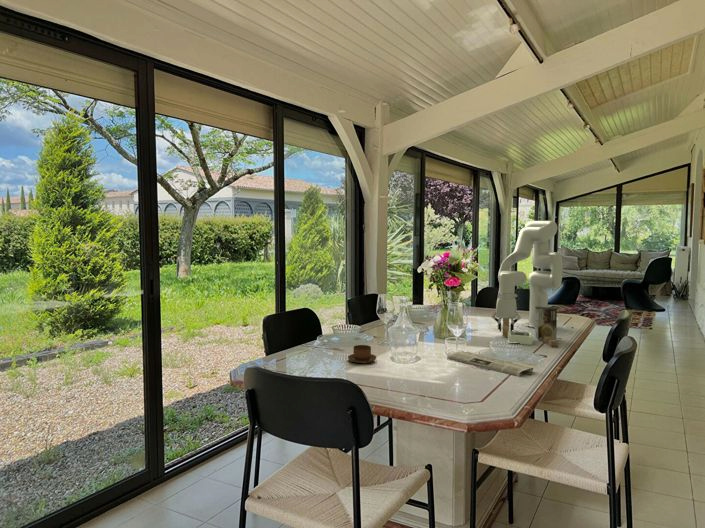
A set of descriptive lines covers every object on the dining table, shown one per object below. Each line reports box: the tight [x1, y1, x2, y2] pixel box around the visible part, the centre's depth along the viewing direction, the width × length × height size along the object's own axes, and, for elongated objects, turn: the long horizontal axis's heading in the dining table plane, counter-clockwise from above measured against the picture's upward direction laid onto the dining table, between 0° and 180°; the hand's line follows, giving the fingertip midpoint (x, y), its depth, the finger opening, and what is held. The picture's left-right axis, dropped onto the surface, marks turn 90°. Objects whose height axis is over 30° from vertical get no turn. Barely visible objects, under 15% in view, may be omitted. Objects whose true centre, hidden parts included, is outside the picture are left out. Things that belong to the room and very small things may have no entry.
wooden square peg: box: [502, 318, 510, 338], centre depth 258 cm, size 3×3×12 cm
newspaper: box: [446, 350, 538, 377], centre depth 205 cm, size 35×12×4 cm, turn 41°
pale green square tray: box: [507, 330, 533, 346], centre depth 246 cm, size 11×11×4 cm
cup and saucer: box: [347, 344, 377, 364], centre depth 210 cm, size 12×12×6 cm
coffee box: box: [534, 306, 558, 341], centre depth 251 cm, size 9×6×16 cm
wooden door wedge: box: [542, 336, 559, 348], centre depth 241 cm, size 12×3×3 cm, turn 177°
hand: (505, 330), depth 258 cm, fingers open, 4 cm apart
